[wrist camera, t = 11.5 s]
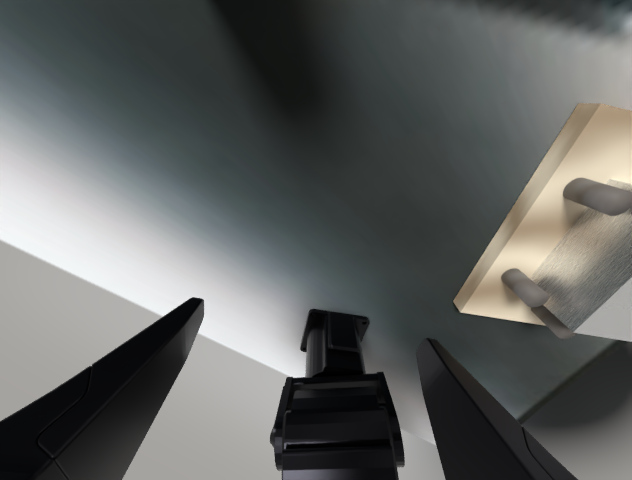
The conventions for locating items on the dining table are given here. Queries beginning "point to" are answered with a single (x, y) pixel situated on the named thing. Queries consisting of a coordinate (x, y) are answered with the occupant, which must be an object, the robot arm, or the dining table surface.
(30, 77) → the dining table surface
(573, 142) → the pin tray
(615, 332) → the block
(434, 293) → the dining table surface
